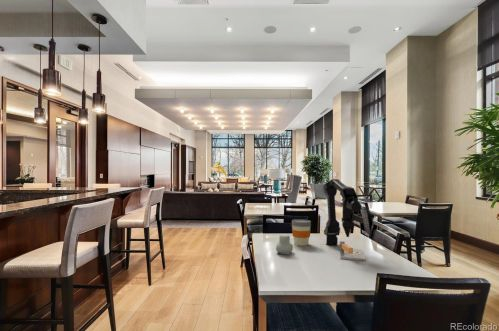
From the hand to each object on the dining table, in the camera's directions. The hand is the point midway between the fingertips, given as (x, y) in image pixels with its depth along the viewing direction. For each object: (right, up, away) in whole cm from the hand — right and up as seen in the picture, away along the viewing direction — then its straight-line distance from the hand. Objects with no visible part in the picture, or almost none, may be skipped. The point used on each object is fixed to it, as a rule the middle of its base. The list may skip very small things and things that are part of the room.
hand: (347, 236), depth 161 cm
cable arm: (-3, -6, -4) cm, 8 cm away
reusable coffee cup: (-22, -11, +23) cm, 34 cm away
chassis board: (+2, -10, -1) cm, 10 cm away
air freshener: (-36, -10, +2) cm, 37 cm away
